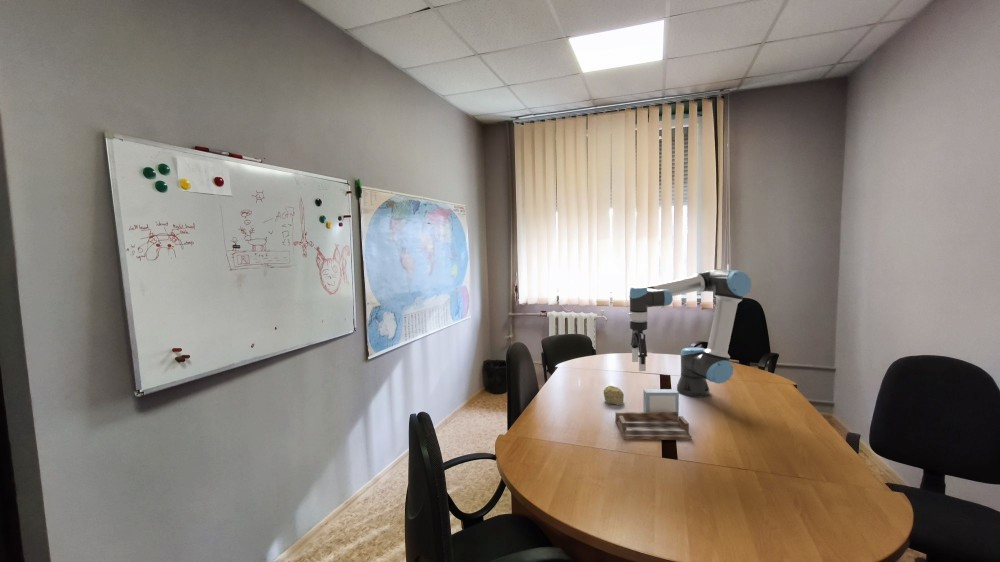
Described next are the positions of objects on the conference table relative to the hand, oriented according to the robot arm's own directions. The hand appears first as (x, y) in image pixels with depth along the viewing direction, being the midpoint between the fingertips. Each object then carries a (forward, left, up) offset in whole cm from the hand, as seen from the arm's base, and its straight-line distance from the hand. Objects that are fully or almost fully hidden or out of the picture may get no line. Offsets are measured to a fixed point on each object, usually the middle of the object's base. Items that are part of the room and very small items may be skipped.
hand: (638, 366), depth 178 cm
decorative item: (+9, -11, -22) cm, 26 cm away
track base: (0, +19, -21) cm, 29 cm away
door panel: (-8, +6, -21) cm, 24 cm away
